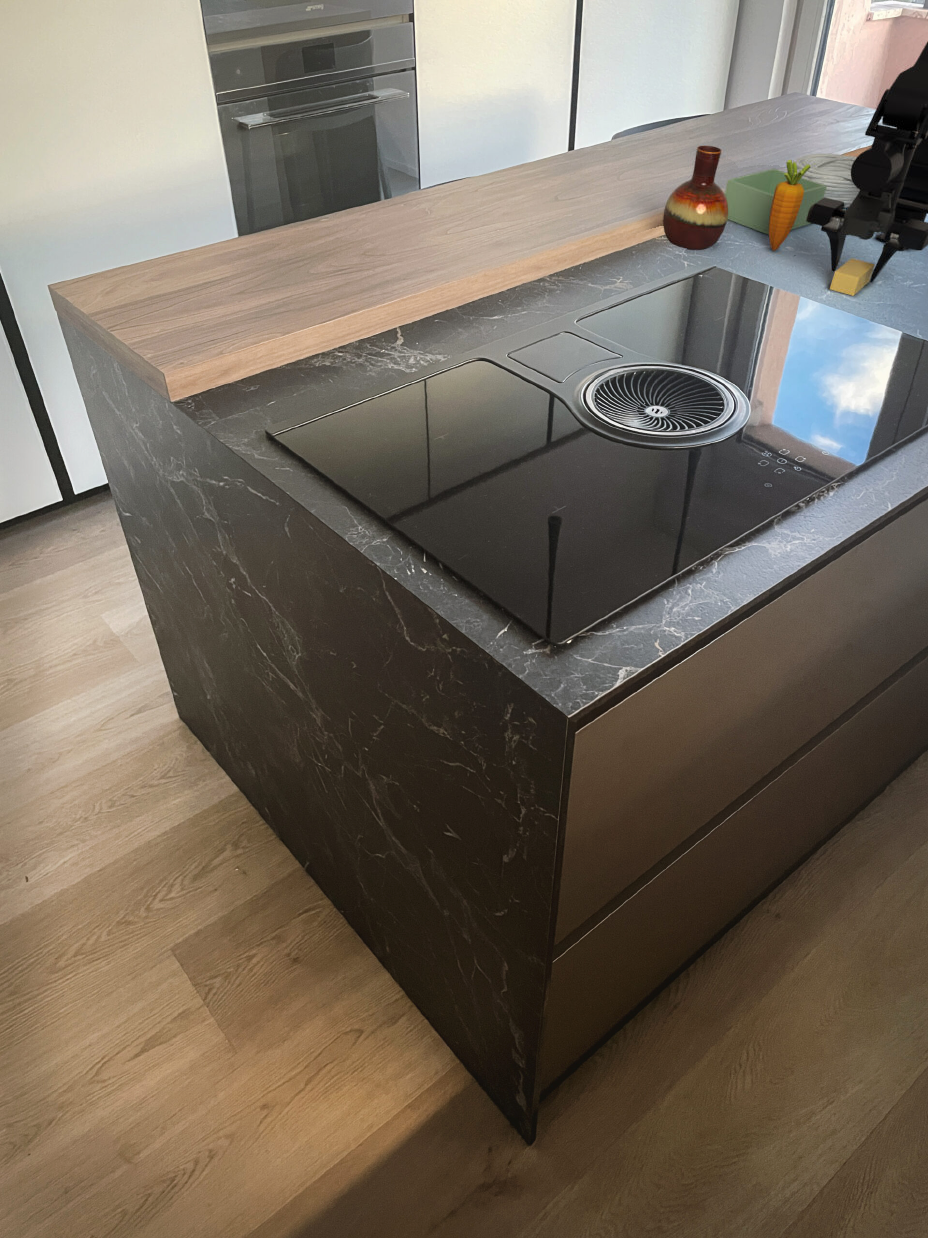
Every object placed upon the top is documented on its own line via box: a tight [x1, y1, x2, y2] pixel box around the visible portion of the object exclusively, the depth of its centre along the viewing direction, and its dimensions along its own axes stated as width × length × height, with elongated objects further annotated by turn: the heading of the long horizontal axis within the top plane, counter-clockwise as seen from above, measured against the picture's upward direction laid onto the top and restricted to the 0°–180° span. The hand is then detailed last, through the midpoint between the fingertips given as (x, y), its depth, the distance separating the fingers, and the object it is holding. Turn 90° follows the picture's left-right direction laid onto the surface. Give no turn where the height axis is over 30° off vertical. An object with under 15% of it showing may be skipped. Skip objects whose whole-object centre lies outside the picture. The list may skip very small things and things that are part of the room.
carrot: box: [768, 159, 811, 252], centre depth 161 cm, size 5×5×15 cm
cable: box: [792, 153, 860, 208], centre depth 187 cm, size 18×18×6 cm
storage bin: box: [724, 168, 827, 236], centre depth 176 cm, size 14×12×7 cm
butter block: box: [829, 257, 876, 297], centre depth 154 cm, size 8×4×3 cm, turn 144°
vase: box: [662, 145, 728, 251], centre depth 162 cm, size 11×11×15 cm
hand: (852, 276), depth 154 cm, fingers open, 6 cm apart
